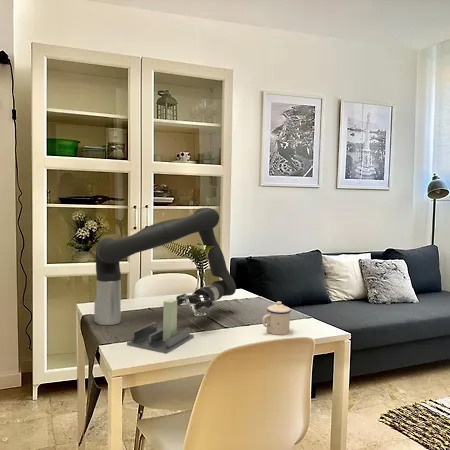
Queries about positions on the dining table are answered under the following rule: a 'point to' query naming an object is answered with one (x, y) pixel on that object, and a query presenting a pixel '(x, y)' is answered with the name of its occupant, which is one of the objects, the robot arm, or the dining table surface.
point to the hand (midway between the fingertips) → (186, 304)
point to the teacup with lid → (277, 319)
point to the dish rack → (158, 338)
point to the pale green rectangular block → (169, 318)
